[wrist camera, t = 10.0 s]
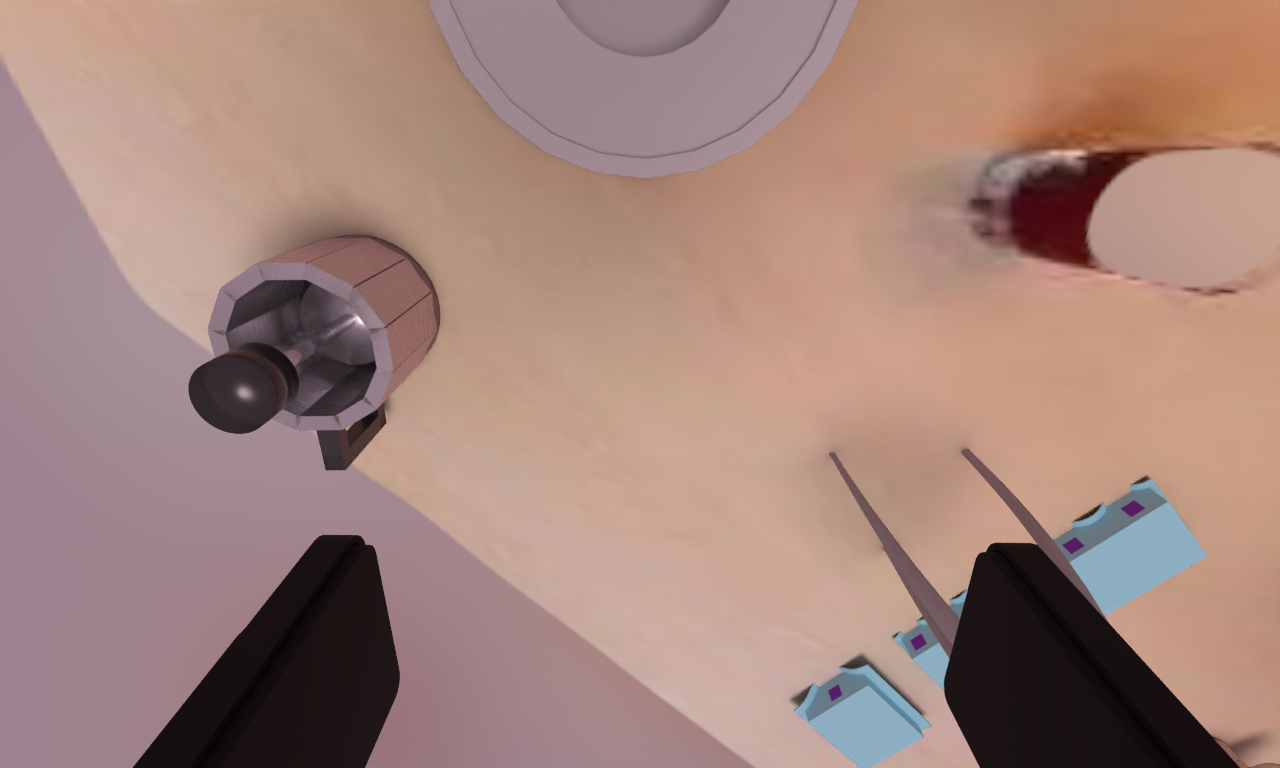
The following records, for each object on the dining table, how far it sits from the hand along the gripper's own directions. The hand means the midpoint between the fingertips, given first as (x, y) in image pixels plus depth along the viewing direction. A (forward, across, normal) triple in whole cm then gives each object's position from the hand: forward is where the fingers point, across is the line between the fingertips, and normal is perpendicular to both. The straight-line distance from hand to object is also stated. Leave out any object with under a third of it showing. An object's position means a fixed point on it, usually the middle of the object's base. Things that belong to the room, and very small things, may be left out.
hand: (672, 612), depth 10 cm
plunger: (+31, +20, +5) cm, 37 cm away
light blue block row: (+34, -29, +33) cm, 56 cm away
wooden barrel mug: (+33, +19, +6) cm, 39 cm away
